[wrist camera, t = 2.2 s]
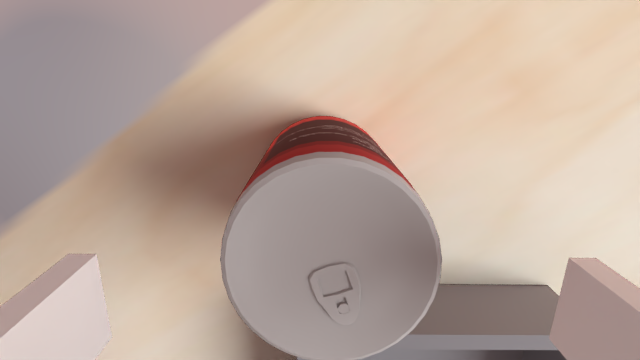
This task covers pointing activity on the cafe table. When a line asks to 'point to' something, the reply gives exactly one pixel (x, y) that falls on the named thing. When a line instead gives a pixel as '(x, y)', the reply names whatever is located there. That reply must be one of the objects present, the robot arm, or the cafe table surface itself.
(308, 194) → the canned food
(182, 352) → the cafe table surface
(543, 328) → the box
